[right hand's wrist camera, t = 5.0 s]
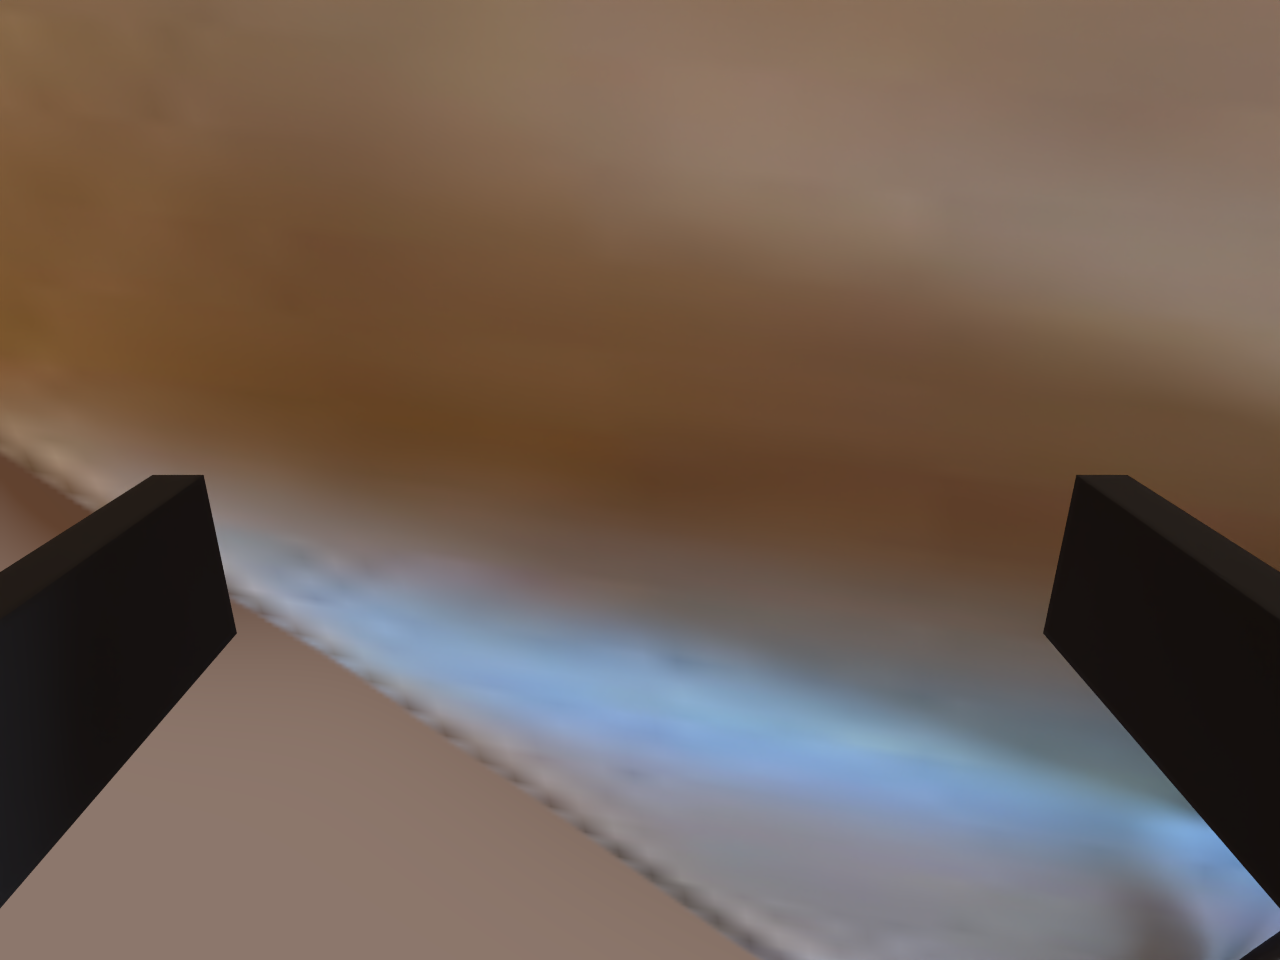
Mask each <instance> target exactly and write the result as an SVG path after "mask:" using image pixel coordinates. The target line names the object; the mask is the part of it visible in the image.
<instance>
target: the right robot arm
mask: <svg viewBox="0 0 1280 960" xmlns="http://www.w3.org/2000/svg"><path fill="white" fill-rule="evenodd" d="M236 634H237V632H236V628H235V623H234V618H233V613H232V608H231V604H230V599H229V594H228V589H227V584H226V580H225V575H224V570H223V565H222V561H221V556H220V551H219V546H218V542H217V537H216V532H215V527H214V522H213V518H212V513H211V508H210V503H209V499H208V494H207V489H206V484H205V480H204V475H152V476H150V477H149V478H147V479H146V480H144V481H143V482H141V483H139V484H138V485H136V486H135V487H133V488H132V489H130V490H128V491H127V492H125V493H124V494H122V495H121V496H119V497H117V498H116V499H114V500H113V501H111V502H110V503H108V504H106V505H105V506H103V507H102V508H100V509H99V510H97V511H95V512H94V513H92V514H91V515H89V516H88V517H86V518H84V519H83V520H81V521H80V522H78V523H77V524H75V525H73V526H72V527H70V528H69V529H67V530H66V531H64V532H63V533H61V534H59V535H58V536H56V537H55V538H53V539H52V540H50V541H49V542H47V543H45V544H44V545H42V546H41V547H39V548H37V549H36V550H34V551H33V552H31V553H30V554H28V555H26V556H25V557H23V558H22V559H20V560H19V561H17V562H15V563H14V564H12V565H11V566H9V567H8V568H6V569H4V570H3V571H1V572H0V908H1V907H2V906H3V904H4V903H5V902H6V901H7V900H8V899H9V897H10V896H11V895H12V894H13V893H14V892H15V890H16V889H17V888H18V887H19V886H20V885H21V884H22V882H23V881H24V880H25V879H26V878H27V877H28V875H29V874H30V873H31V872H32V871H33V870H34V868H35V867H36V866H37V865H38V864H39V863H40V861H41V860H42V859H43V858H44V857H45V856H46V854H47V853H48V852H49V851H50V850H51V849H52V847H53V846H54V845H55V844H56V843H57V842H58V840H59V839H60V838H61V837H62V836H63V835H64V833H65V832H66V831H67V830H68V829H69V828H70V827H71V825H72V824H73V823H74V822H75V821H76V820H77V818H78V817H79V816H80V815H81V814H82V813H83V811H84V810H85V809H86V808H87V807H88V806H89V804H90V803H91V802H92V801H93V800H94V799H95V797H96V796H97V795H98V794H99V793H100V792H101V791H102V789H103V788H104V787H105V786H106V785H107V784H108V782H109V781H110V780H111V779H112V778H113V777H114V775H115V774H116V773H117V772H118V771H119V770H120V768H121V767H122V766H123V765H124V764H125V763H126V761H127V760H128V759H129V758H130V757H131V756H132V754H133V753H134V752H135V751H136V750H137V749H138V748H139V746H140V745H141V744H142V743H143V742H144V741H145V739H146V738H147V737H148V736H149V735H150V733H151V732H152V731H153V730H154V729H155V728H156V727H157V725H158V724H159V723H160V722H161V721H162V720H163V718H164V717H165V716H166V715H167V714H168V713H169V711H170V710H171V709H172V708H173V707H174V706H175V705H176V703H177V702H178V701H179V700H180V699H181V698H182V696H183V695H184V694H185V693H186V692H187V691H188V689H189V688H190V687H191V686H192V685H193V684H194V682H195V681H196V680H197V679H198V678H199V677H200V675H201V674H202V673H203V672H204V671H205V670H206V668H207V667H208V666H209V665H210V664H211V663H212V661H213V660H214V659H215V658H216V657H217V656H218V654H219V653H220V652H221V651H222V650H223V649H224V648H225V646H226V645H227V644H228V643H229V642H230V641H231V639H232V638H233V637H234V636H235V635H236ZM1043 634H1044V635H1045V636H1046V637H1047V638H1048V639H1049V641H1050V642H1051V643H1052V644H1053V645H1054V646H1055V648H1056V649H1057V650H1058V651H1059V652H1060V653H1061V655H1062V656H1063V657H1064V658H1065V659H1066V660H1067V661H1068V663H1069V664H1070V665H1071V666H1072V667H1073V668H1074V670H1075V671H1076V672H1077V673H1078V674H1079V675H1080V677H1081V678H1082V679H1083V680H1084V681H1085V682H1086V684H1087V685H1088V686H1089V687H1090V688H1091V689H1092V691H1093V692H1094V693H1095V694H1096V695H1097V696H1098V698H1099V699H1100V700H1101V701H1102V702H1103V703H1104V705H1105V706H1106V707H1107V708H1108V709H1109V710H1110V711H1111V713H1112V714H1113V715H1114V716H1115V717H1116V718H1117V720H1118V721H1119V722H1120V723H1121V724H1122V725H1123V727H1124V728H1125V729H1126V730H1127V731H1128V732H1129V734H1130V735H1131V736H1132V737H1133V738H1134V739H1135V741H1136V742H1137V743H1138V744H1139V745H1140V746H1141V748H1142V749H1143V750H1144V751H1145V752H1146V753H1147V754H1148V756H1149V757H1150V758H1151V759H1152V760H1153V761H1154V763H1155V764H1156V765H1157V766H1158V767H1159V768H1160V770H1161V771H1162V772H1163V773H1164V774H1165V775H1166V777H1167V778H1168V779H1169V780H1170V781H1171V782H1172V784H1173V785H1174V786H1175V787H1176V788H1177V789H1178V791H1179V792H1180V793H1181V794H1182V795H1183V796H1184V797H1185V799H1186V800H1187V801H1188V802H1189V803H1190V804H1191V806H1192V807H1193V808H1194V809H1195V810H1196V811H1197V813H1198V814H1199V815H1200V816H1201V817H1202V818H1203V820H1204V821H1205V822H1206V823H1207V824H1208V825H1209V827H1210V828H1211V829H1212V830H1213V831H1214V832H1215V834H1216V835H1217V836H1218V837H1219V838H1220V839H1221V840H1222V842H1223V843H1224V844H1225V845H1226V846H1227V847H1228V849H1229V850H1230V851H1231V852H1232V853H1233V854H1234V856H1235V857H1236V858H1237V859H1238V860H1239V861H1240V863H1241V864H1242V865H1243V866H1244V867H1245V868H1246V870H1247V871H1248V872H1249V873H1250V874H1251V875H1252V877H1253V878H1254V879H1255V880H1256V881H1257V882H1258V884H1259V885H1260V886H1261V887H1262V888H1263V889H1264V890H1265V892H1266V893H1267V894H1268V895H1269V896H1270V897H1271V899H1272V900H1273V901H1274V902H1275V903H1276V904H1277V906H1278V907H1279V908H1280V572H1279V571H1277V570H1276V569H1274V568H1272V567H1271V566H1269V565H1268V564H1266V563H1265V562H1263V561H1261V560H1260V559H1258V558H1257V557H1255V556H1254V555H1252V554H1250V553H1249V552H1247V551H1246V550H1244V549H1243V548H1241V547H1239V546H1238V545H1236V544H1235V543H1233V542H1232V541H1230V540H1228V539H1227V538H1225V537H1224V536H1222V535H1221V534H1219V533H1217V532H1216V531H1214V530H1213V529H1211V528H1210V527H1208V526H1207V525H1205V524H1203V523H1202V522H1200V521H1199V520H1197V519H1196V518H1194V517H1192V516H1191V515H1189V514H1188V513H1186V512H1185V511H1183V510H1181V509H1180V508H1178V507H1177V506H1175V505H1174V504H1172V503H1170V502H1169V501H1167V500H1166V499H1164V498H1163V497H1161V496H1159V495H1158V494H1156V493H1155V492H1153V491H1152V490H1150V489H1148V488H1147V487H1145V486H1144V485H1142V484H1141V483H1139V482H1137V481H1136V480H1134V479H1133V478H1131V477H1130V476H1128V475H1076V480H1075V484H1074V489H1073V494H1072V499H1071V503H1070V508H1069V513H1068V518H1067V522H1066V527H1065V532H1064V537H1063V542H1062V546H1061V551H1060V556H1059V561H1058V565H1057V570H1056V575H1055V580H1054V584H1053V589H1052V594H1051V599H1050V604H1049V608H1048V613H1047V618H1046V623H1045V627H1044V632H1043ZM1240 960H1280V931H1279V932H1278V933H1277V934H1275V935H1274V936H1272V937H1271V938H1269V939H1268V940H1267V941H1265V942H1264V943H1262V944H1261V945H1259V946H1258V947H1256V948H1255V949H1254V950H1252V951H1251V952H1249V953H1248V954H1247V955H1245V956H1244V957H1243V958H1241V959H1240Z"/></svg>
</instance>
